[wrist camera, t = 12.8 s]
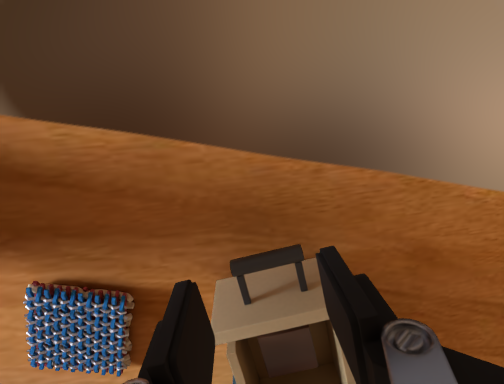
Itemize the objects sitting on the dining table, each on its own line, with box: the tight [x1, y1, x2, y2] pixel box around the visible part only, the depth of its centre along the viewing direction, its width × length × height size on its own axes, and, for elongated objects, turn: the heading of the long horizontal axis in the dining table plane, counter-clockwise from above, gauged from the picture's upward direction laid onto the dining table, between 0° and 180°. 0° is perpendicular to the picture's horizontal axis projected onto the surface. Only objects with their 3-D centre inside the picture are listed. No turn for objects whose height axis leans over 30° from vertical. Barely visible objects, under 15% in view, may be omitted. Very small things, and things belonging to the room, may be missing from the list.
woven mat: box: [23, 281, 134, 376], centre depth 31 cm, size 10×11×2 cm
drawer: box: [211, 244, 356, 384], centre depth 28 cm, size 18×11×7 cm, turn 14°
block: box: [257, 324, 318, 378], centre depth 28 cm, size 5×5×5 cm
